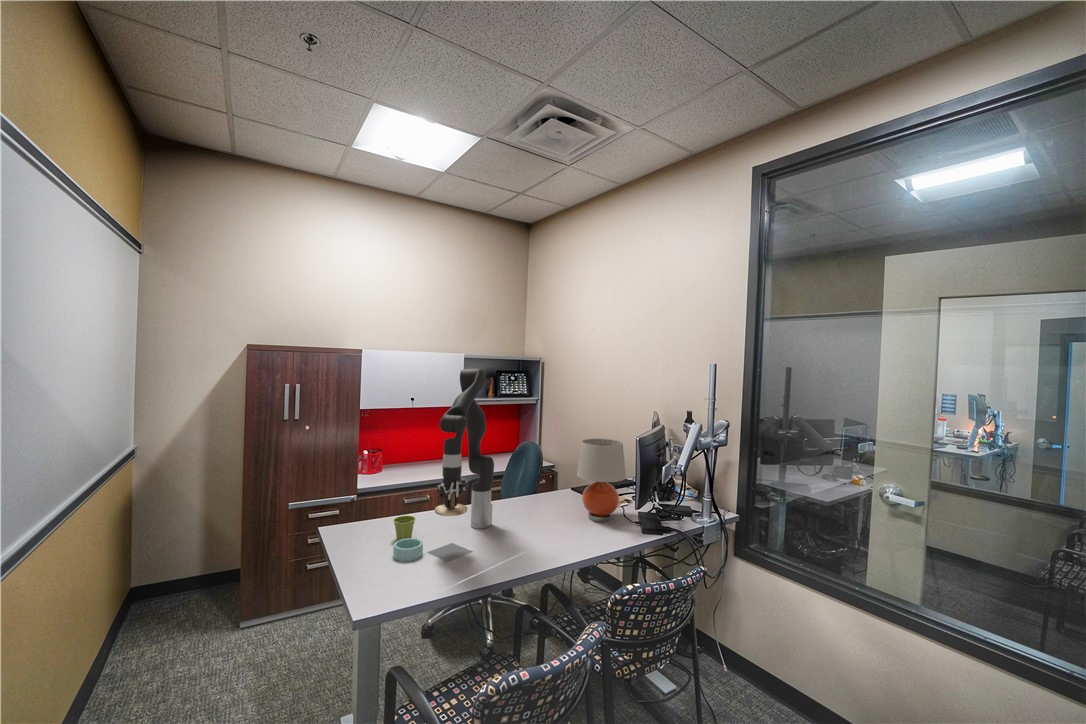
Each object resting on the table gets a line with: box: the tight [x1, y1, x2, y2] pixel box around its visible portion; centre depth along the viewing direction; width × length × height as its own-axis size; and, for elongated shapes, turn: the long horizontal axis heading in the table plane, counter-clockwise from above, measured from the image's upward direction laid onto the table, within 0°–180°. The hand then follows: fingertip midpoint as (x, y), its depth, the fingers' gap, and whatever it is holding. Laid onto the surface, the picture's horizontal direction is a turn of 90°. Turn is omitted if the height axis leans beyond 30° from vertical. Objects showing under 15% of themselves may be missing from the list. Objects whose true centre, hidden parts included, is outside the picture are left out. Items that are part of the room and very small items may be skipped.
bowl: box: [392, 537, 424, 562], centre depth 182 cm, size 11×11×5 cm
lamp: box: [576, 438, 627, 523], centre depth 233 cm, size 25×25×39 cm
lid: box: [434, 493, 468, 517], centre depth 186 cm, size 13×13×7 cm
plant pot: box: [392, 515, 417, 541], centre depth 199 cm, size 9×9×9 cm
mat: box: [427, 542, 474, 563], centre depth 186 cm, size 13×13×1 cm
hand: (451, 506), depth 186 cm, fingers closed on lid, 2 cm apart
